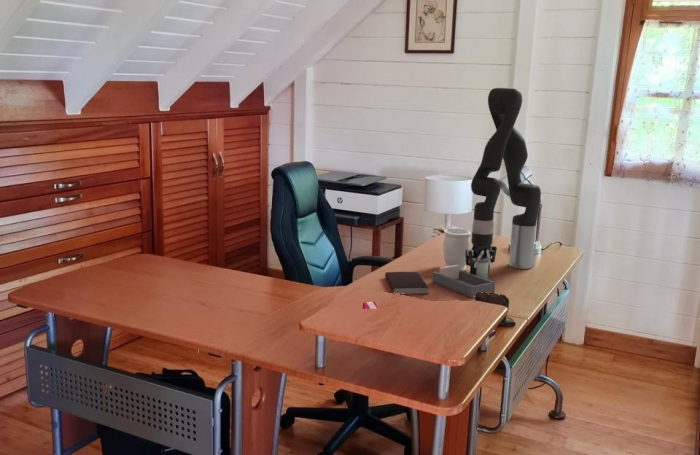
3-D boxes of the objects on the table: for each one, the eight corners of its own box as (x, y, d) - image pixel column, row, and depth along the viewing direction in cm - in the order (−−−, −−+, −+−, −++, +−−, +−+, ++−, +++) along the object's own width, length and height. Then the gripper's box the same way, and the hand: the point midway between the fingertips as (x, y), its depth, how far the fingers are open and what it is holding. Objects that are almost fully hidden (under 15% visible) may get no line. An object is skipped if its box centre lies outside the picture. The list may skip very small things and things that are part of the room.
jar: (460, 273, 259) (463, 235, 255) (437, 268, 265) (439, 231, 261) (473, 268, 267) (476, 231, 264) (450, 263, 273) (452, 227, 270)
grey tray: (455, 278, 253) (455, 268, 252) (494, 293, 237) (495, 282, 236) (432, 282, 246) (432, 272, 246) (470, 298, 230) (471, 287, 229)
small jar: (479, 275, 256) (480, 254, 254) (491, 279, 251) (492, 258, 249) (467, 278, 252) (468, 256, 250) (479, 282, 247) (480, 260, 245)
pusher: (456, 277, 250) (457, 264, 249) (458, 278, 249) (459, 265, 248) (438, 280, 245) (439, 267, 244) (441, 281, 244) (442, 268, 243)
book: (392, 295, 232) (392, 286, 231) (384, 279, 251) (385, 270, 250) (428, 296, 233) (428, 287, 232) (418, 279, 252) (418, 271, 251)
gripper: (489, 227, 254) (486, 270, 258) (460, 231, 246) (458, 275, 250) (504, 231, 248) (500, 275, 252) (475, 235, 240) (472, 280, 244)
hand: (479, 275), depth 251 cm, fingers closed on small jar, 6 cm apart
